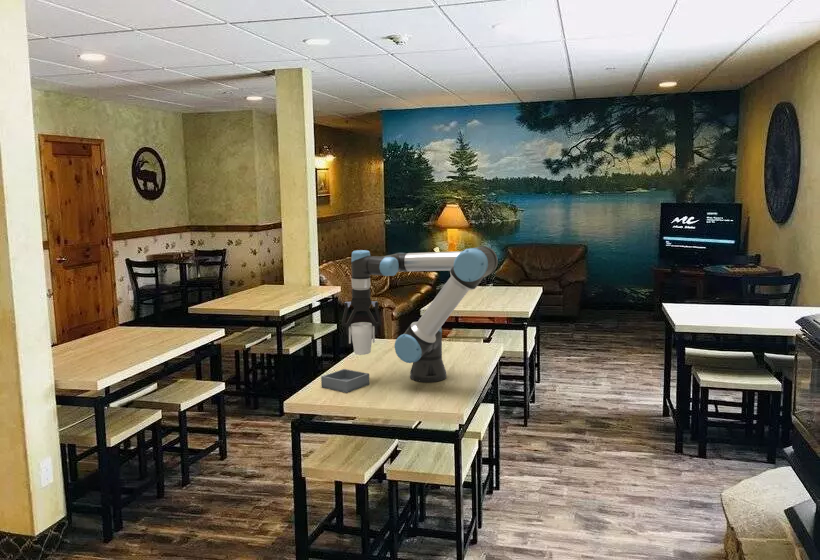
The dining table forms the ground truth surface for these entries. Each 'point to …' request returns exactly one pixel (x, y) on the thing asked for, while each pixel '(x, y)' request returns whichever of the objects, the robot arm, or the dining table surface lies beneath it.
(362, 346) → the cup
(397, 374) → the dining table surface
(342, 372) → the bin
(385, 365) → the dining table surface
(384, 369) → the dining table surface
